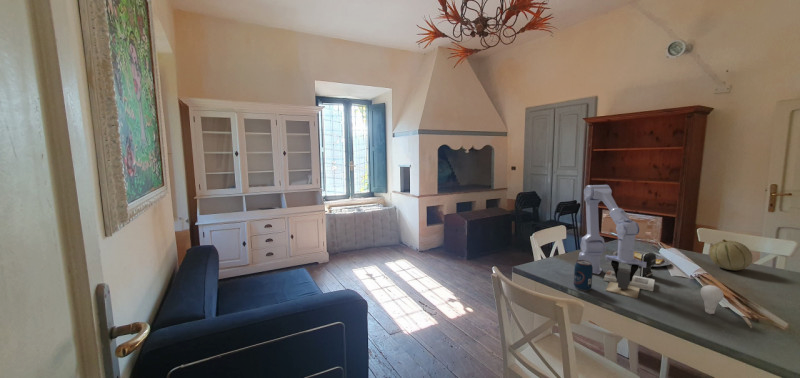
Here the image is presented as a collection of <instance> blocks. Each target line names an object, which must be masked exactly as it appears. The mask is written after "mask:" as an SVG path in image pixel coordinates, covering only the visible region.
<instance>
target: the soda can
mask: <svg viewBox="0 0 800 378" xmlns="http://www.w3.org/2000/svg"><path fill="white" fill-rule="evenodd" d="M592 271H593V267H592V265H591V262H589V261H585V260H579V259H578V260H576V261H575V264H574V272H573V285H574V287H575V289H577V290H579V291H585V292H586V291H587V292H588V291H590V290H591V288H592V285H593V284H592V283H593V273H592Z"/></svg>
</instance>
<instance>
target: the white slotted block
mask: <svg viewBox="0 0 800 378" xmlns="http://www.w3.org/2000/svg"><path fill="white" fill-rule="evenodd" d="M603 281H604V282H605V281H606V282H609V283H610V281H611V282H615V283H618V282H617V278H616V276H615V272H614V270H607V271H606V273H605V275H604V276H603ZM655 281H656V279H653V278H651V277H649V278H645V277H641V276H640V275H636V274H634V276H633V278H632V282H630V284H629V286H633V287H638V288H640V290H645V291H650V292H654V288H655Z"/></svg>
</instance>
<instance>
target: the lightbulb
mask: <svg viewBox="0 0 800 378" xmlns="http://www.w3.org/2000/svg"><path fill="white" fill-rule="evenodd" d="M699 292H700V296H701V297H702V299H703V302H704V304H703V305H704V311H705V313H707V314H708V315H714V314H715V312H716V309H717V308H718V307H717V306H718V304H719V303H721V301H722V300H723V299H724V295H725V294H724V293H723V291H722V289H721V288H719V287H718V286H716V285H710V284H709V285H705V286H702V287H701V288H700V291H699Z"/></svg>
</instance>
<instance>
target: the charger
mask: <svg viewBox="0 0 800 378" xmlns="http://www.w3.org/2000/svg"><path fill="white" fill-rule="evenodd" d="M630 275H631V268H626V267H620V266H619V268H618V271H617V282H618V288H623V289H628V287H629V284H630Z"/></svg>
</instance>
